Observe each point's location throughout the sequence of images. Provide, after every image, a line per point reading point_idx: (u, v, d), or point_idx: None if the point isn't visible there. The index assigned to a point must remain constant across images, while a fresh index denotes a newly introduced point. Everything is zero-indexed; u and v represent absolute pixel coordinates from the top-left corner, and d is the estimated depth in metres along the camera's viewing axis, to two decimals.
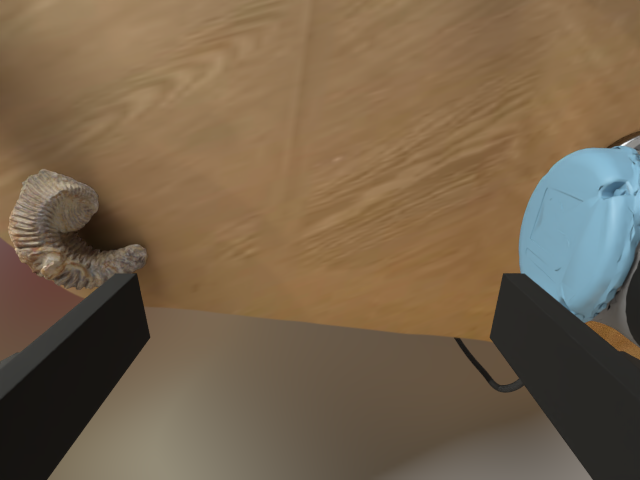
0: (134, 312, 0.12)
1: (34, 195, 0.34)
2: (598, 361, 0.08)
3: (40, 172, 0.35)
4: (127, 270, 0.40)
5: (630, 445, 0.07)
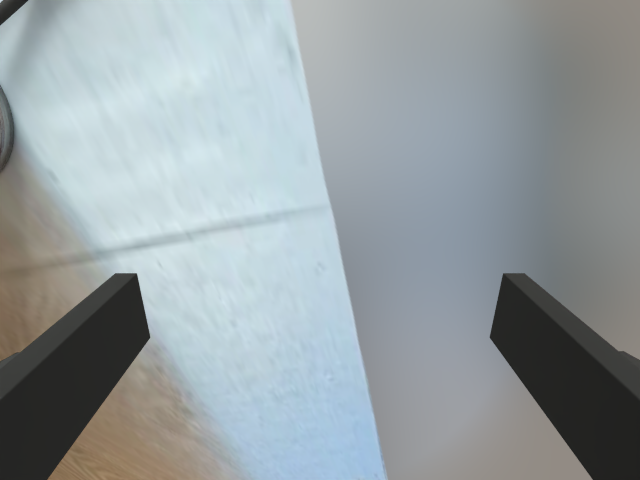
0: (134, 312, 0.12)
1: None
2: (598, 361, 0.08)
3: None
4: None
5: (630, 445, 0.07)
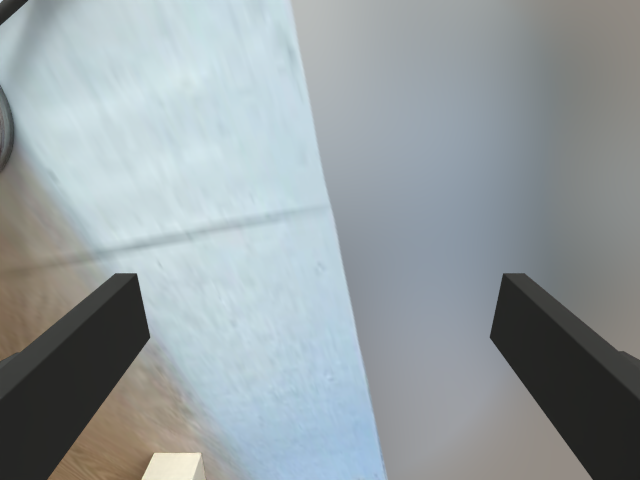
0: (134, 312, 0.12)
1: None
2: (598, 361, 0.08)
3: None
4: None
5: (630, 445, 0.07)
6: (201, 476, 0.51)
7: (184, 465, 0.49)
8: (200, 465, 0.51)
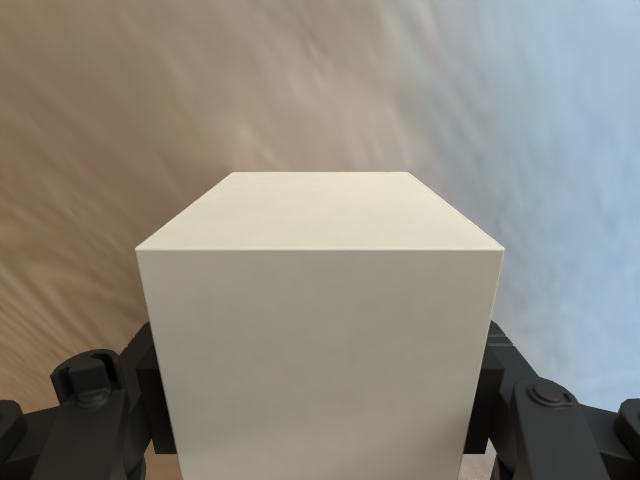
0: None
1: None
2: None
3: None
4: None
5: None
6: None
7: (371, 182, 0.12)
8: None
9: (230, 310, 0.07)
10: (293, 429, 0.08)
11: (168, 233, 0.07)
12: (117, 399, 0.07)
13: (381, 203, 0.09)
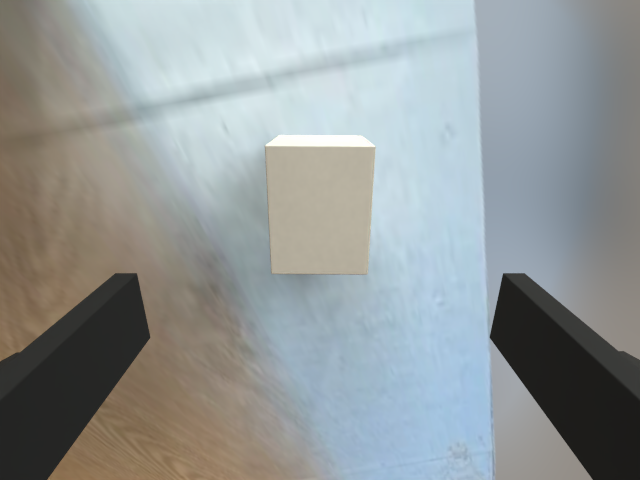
0: (134, 312, 0.12)
1: None
2: (598, 361, 0.08)
3: None
4: None
5: (630, 445, 0.07)
6: None
7: (342, 137, 0.27)
8: None
9: (292, 167, 0.22)
10: (310, 215, 0.23)
11: (272, 144, 0.22)
12: None
13: (343, 141, 0.25)
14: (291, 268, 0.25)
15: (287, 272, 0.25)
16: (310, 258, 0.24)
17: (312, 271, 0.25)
